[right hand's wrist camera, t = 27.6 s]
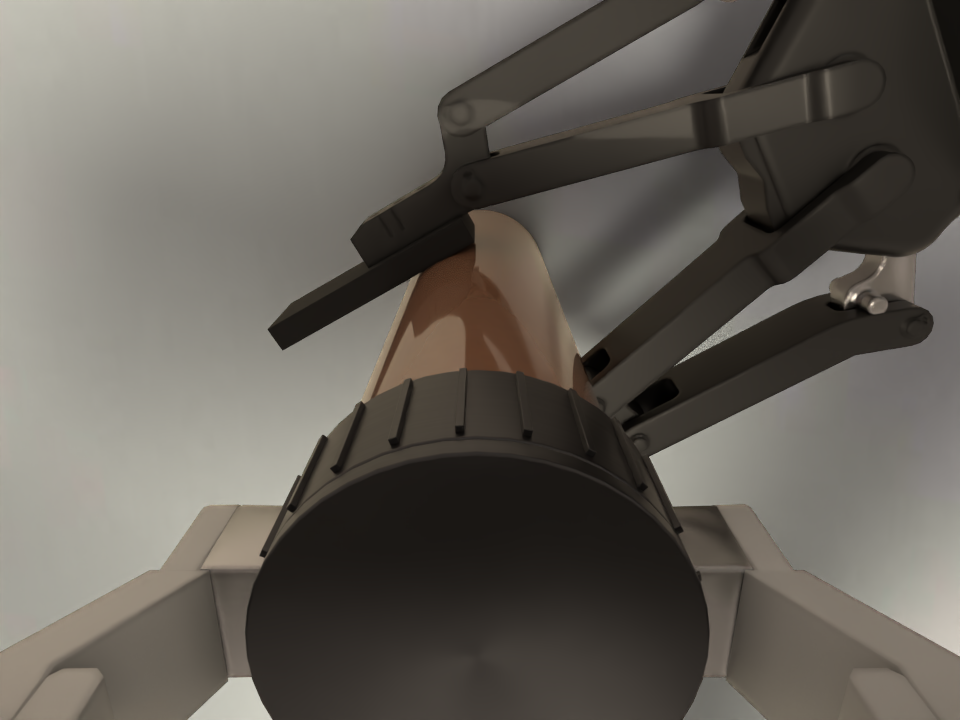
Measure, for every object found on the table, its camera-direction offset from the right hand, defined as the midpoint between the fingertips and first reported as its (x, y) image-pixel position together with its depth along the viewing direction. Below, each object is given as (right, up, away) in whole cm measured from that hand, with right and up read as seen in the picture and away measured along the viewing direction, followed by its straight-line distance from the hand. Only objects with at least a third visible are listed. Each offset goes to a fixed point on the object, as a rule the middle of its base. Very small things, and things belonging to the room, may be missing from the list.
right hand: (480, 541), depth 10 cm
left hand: (-4, +2, +11) cm, 12 cm away
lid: (0, -1, -2) cm, 2 cm away
